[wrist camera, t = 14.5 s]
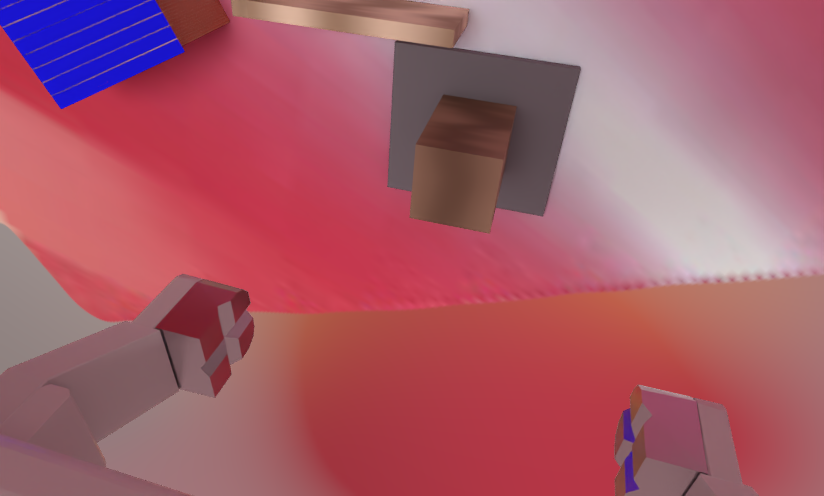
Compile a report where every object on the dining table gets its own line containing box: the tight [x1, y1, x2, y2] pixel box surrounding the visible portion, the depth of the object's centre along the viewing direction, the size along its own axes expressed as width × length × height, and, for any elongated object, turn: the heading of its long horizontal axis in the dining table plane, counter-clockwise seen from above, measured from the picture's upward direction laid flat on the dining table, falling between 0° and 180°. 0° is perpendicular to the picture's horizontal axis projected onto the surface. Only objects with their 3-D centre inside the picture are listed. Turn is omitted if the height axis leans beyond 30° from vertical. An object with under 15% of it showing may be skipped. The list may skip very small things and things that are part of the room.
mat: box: [388, 40, 580, 216], centre depth 39 cm, size 12×11×1 cm
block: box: [410, 94, 517, 233], centre depth 36 cm, size 5×5×8 cm
